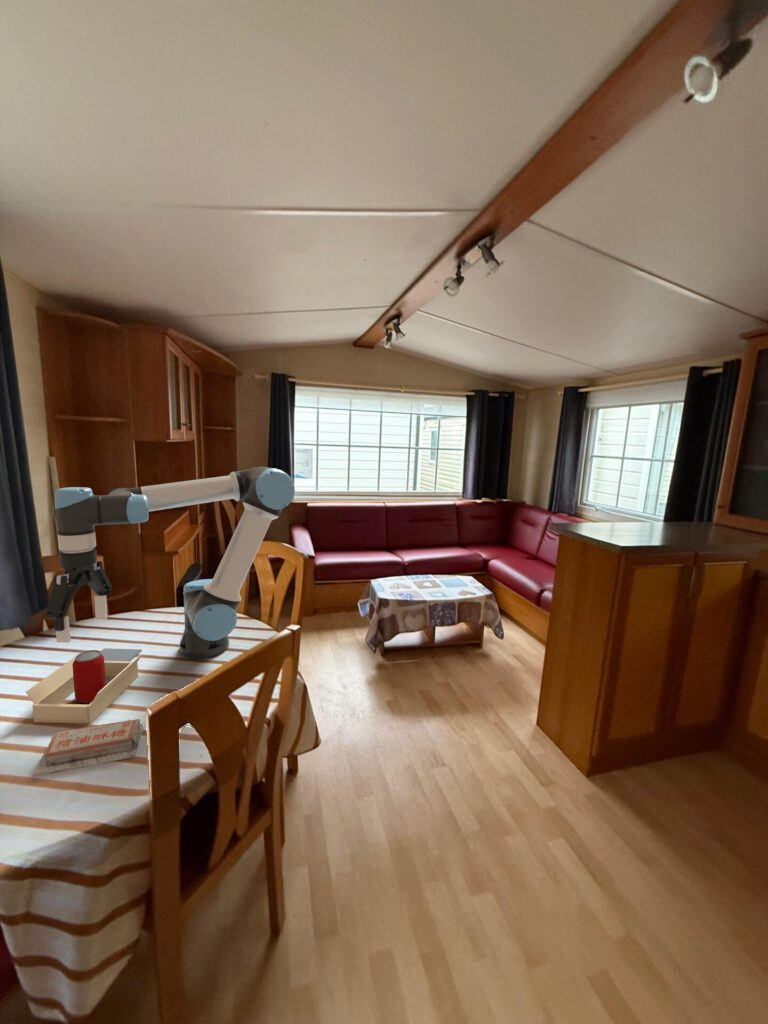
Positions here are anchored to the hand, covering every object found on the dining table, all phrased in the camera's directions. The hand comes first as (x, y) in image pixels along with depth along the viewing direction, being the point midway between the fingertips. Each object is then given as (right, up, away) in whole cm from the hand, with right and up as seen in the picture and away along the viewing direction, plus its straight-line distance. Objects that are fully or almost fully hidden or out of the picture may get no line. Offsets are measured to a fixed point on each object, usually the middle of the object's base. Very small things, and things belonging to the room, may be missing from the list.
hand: (83, 629), depth 105 cm
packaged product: (+13, -23, -15) cm, 31 cm away
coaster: (-7, -15, +21) cm, 27 cm away
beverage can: (0, -19, +2) cm, 19 cm away
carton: (0, -19, +2) cm, 19 cm away
